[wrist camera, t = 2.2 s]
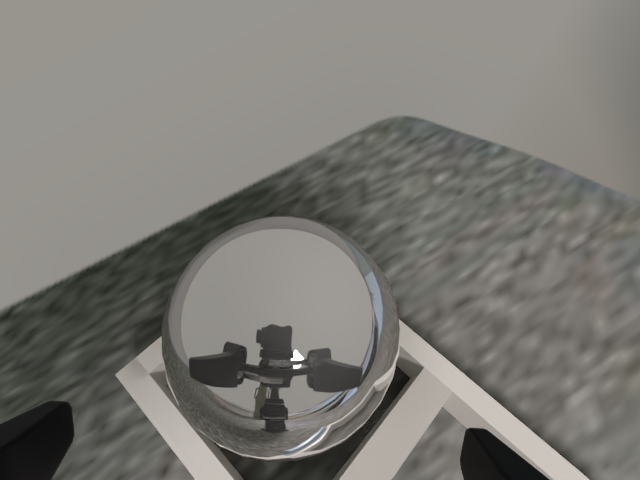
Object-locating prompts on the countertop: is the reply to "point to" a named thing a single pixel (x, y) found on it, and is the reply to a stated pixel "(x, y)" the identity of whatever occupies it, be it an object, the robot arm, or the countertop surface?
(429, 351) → the white tray
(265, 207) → the countertop surface
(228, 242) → the light bulb
